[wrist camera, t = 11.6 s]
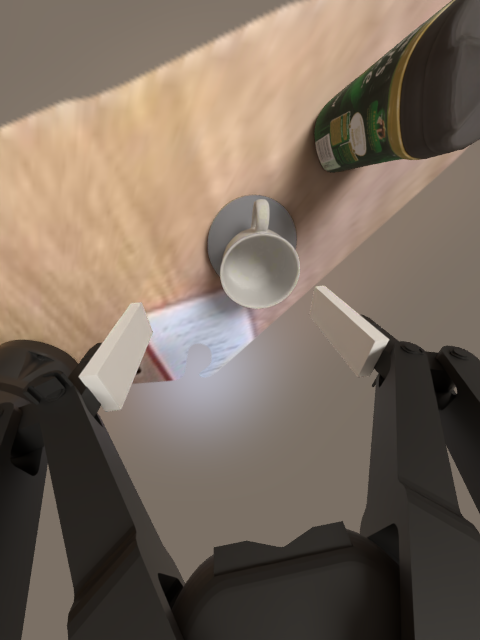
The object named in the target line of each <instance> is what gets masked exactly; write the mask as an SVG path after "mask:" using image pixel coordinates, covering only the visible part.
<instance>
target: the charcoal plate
mask: <svg viewBox="0 0 480 640" xmlns="http://www.w3.org/2000/svg"><path fill="white" fill-rule="evenodd" d="M258 199H265V200H266V201H267V202H268V204H269V224H268V230H271V231H273V232H275V233H277V234H278V235H280V236H281V237H282V238H284V239H286V240H287V241H288V242H289V243H290V244H291V245H292V246H293V247H294V249H295V250H296V241H297V237H296V229H295V225H294V222H293V220H292V218H291V216H290V214H289V213H288V212H287V210H286V209H285V208H284V207H283V206H282V205H281V204H279V203H278V202H277V201H275V200H273V199H271V198H268V197H266V196H260V195H247V196H242V197H239V198H236V199H234V200H232V201H231V202H229V203H228V204H226V205H225V206H224V207H223V208H222V209H221V210H220V211H219V212H218V214H217V215H216V217H215V218H214V220H213V222H212V224H211V227H210V231H209V236H208V254H209V259H210V262H211V264H212V266H213V268H214V270H215V271H216V273H217V274H218V275H219V276H220V267H221V263H222V259H223V255H224V251H225V249H226V247H227V245H228V244H229V242H230V241H231V240H232V239H233V238H234V237H235V236H236V235H237V234H239V233H240V232H242V231H244V230H247V229H250V228H251V224H252V211H253V205H254V202H255V201H256V200H258Z"/></svg>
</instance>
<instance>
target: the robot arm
mask: <svg viewBox="0 0 480 640" xmlns="http://www.w3.org/2000/svg"><path fill="white" fill-rule="evenodd" d="M309 316H310V318H311V319H312V320H313V321H314V323H315V324H316V325H317V327H318V328H319V329H320V330H321V332H322V333H323V334H324V335H325V337H326V338H327V339H328V340H329V342H330V343H331V344H332V346H333V347H334V348H335V349H336V351H337V352H338V353H339V354H340V356H341V357H342V358H343V359H344V360H345V362H346V363H347V364H348V366H349V367H350V368H351V369H352V371H353V372H354V373H355V374H356V376H357V377H364V376H370V375H371V373H372V371H373V370H374V369H375V370H376V371H377V372H378V373H379V374H378V375H377V377H376V379H375V381H374V383H373V384H372V387H374V386H375V385H376V390H375V403H374V417H373V430H372V443H371V456H370V469H369V482H368V483H369V484H368V496H367V505H366V509H365V512H364V515H363V517H362V521H361V527H360V534H359V533H357V532H354V531H351V530H348V529H346V528H345V526H344V524H343V521H341V522H336V523H331V524H327V525H321V526H317V527H312V528H311V529H310V530H308V531H307V532H305V533H304V534H302V535H301V536H299V537H298V538H296V539H295V540H294V541H292V542H291V543H289V544H288V545H286V546H285V547H276V546H271V545H266V544H260V543H256V542H250V541H243V542H239V543H233V544H229V545H224V546H219V547H214V554H213V555H212V556H210V557H209V558H208V559H206V561H204V562H203V563H202V564H201V565H200V566H199V567H198V568H197V569H196V570H195V572H194V573H193V574H192V575H191V577H190V578H189V580H188V581H187V582H186V584H185V582H184V580H183V579H182V576H181V574H180V572H179V570H178V568H177V566H176V565H175V563H174V561H173V559H172V558H171V556H170V555H169V553H168V552H167V551H166V549H165V547H164V546H163V544H162V542H161V540H160V538H159V536H158V534H157V532H156V530H155V528H154V526H153V524H152V522H151V519H150V517H149V515H148V514H147V512H146V509H145V507H144V505H143V504H142V501H141V499H140V497H139V495H138V493H137V491H136V489H135V487H134V485H133V483H132V481H131V479H130V477H129V475H128V473H127V471H126V469H125V466H124V465H123V462H122V460H121V458H120V457H119V454H118V452H117V450H116V448H115V446H114V444H113V442H112V440H111V438H110V436H109V434H108V432H107V430H106V428H105V426H104V424H103V422H102V420H101V418H100V416H99V415H98V413H97V412H98V410H99V408H100V406H102V407H103V409H104V410H105V411H106V412H108V411H116V410H121V409H122V407H123V404H124V402H125V399H126V397H127V395H128V392H129V389H130V387H131V385H132V382H133V380H134V377H135V375H136V373H137V370H138V368H139V365H140V363H141V360H142V358H143V355H144V353H145V350H146V348H147V346H148V343H149V341H150V338H151V336H152V333H153V331H152V328H151V326H150V323H149V320H148V318H147V315H146V312H145V310H144V307H143V304H142V302H139V303H131V304H130V305H129V306H128V308H127V309H126V311H125V312H124V313H123V315H122V316H121V318H120V319H119V320H118V322H117V323H116V325H115V326H114V327H113V329H112V330H111V332H110V333H109V335H108V336H107V337H106V339H105V340H104V342H103V343H97V344H96V345H95V346H93V347H92V348H91V349H89V351H88V352H87V353H86V355H85V356H84V358H82V360H81V361H80V363H79V364H77V362H76V361H75V360H74V359H73V358H72V357H71V356H69V355H68V354H67V353H65V352H63V351H62V350H60V349H58V348H56V347H53V346H51V345H48V344H45V343H41V342H37V341H30V340H14V341H9V342H6V343H4V344H2V345H0V640H21V637H22V630H23V623H24V617H25V610H26V603H27V597H28V590H29V584H30V576H31V569H32V564H33V557H34V550H35V544H36V537H37V530H38V523H39V518H40V510H41V504H42V498H43V491H44V485H45V478H46V471H47V465H49V470H50V475H51V480H52V485H53V490H54V494H55V499H56V504H57V509H58V514H59V519H60V524H61V529H62V533H63V539H64V543H65V548H66V553H67V558H68V563H69V567H70V572H71V577H72V582H73V587H74V603H73V605H72V607H71V610H70V612H69V615H68V623H67V629H68V640H480V534H479V532H478V530H477V529H476V528H475V526H474V525H473V524H472V523H470V522H469V521H468V520H466V519H465V518H464V517H463V516H462V514H461V513H460V509H459V506H458V501H457V496H456V491H455V487H454V482H453V477H452V472H451V467H450V463H449V458H448V453H447V448H448V449H449V452H450V454H451V456H452V458H453V460H454V462H455V464H456V466H457V468H458V470H459V472H460V474H461V476H462V478H463V480H464V483H465V484H466V486H467V489H468V491H469V493H470V495H471V497H472V499H473V501H474V503H475V505H476V507H477V509H478V511H479V513H480V360H479V359H478V358H477V357H475V356H474V355H473V354H472V353H470V352H468V351H466V350H465V349H462V348H459V347H454V346H444V347H442V349H441V350H440V351H439V353H435V352H426V351H424V350H423V349H422V348H421V347H419V346H417V345H415V344H413V343H410V342H404V341H401V342H399V341H398V340H396V339H395V338H394V337H393V336H392V335H390V334H389V333H388V332H386V331H385V330H384V329H383V328H381V327H380V326H379V325H378V324H376V323H375V322H374V321H373V320H371V319H370V318H368V317H366V316H364V315H359V314H358V313H357V312H356V311H354V310H353V309H352V308H351V307H349V306H348V305H347V304H346V303H345V302H343V301H342V300H341V299H340V298H339V297H337V296H336V295H335V294H334V293H332V292H331V291H330V290H329V289H328V288H326V287H325V286H315V289H314V294H313V299H312V304H311V309H310V314H309ZM455 387H456V388H457V394H456V393H455V391H454V390H453V389H454V388H455ZM446 446H447V448H446Z"/></svg>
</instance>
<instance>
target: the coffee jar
mask: <svg viewBox="0 0 480 640" xmlns="http://www.w3.org/2000/svg"><path fill="white" fill-rule="evenodd" d="M314 136H315V146H316V151H317V155H318V158H319V161H320V163H321V165H322V167H323V168H324V169H325V170H326V171H328V172H340V171H345V170H349V169H354V168H358V167H363V166H368V165H373V164H378V163H383V162H388V161H393V160H399V159H408V160H420V159H427V158H430V157H434V156H438V155H442V154H446V153H450V152H454V151H457V150H462V149H464V148H466V147H467V146H469V145H471V144H472V143H474V142H476V141H477V140H479V139H480V0H452V1H451V2H449V3H448V4H447V5H446V6H444V7H443V8H442V9H441V10H439V11H438V12H437V13H436V14H434V15H433V16H432V17H431V18H429V19H428V20H427V21H426V22H424V23H423V24H422V25H421V26H419V27H418V28H417V29H415V30H414V31H413V32H412V33H410V34H409V35H408V36H407V37H406V38H404V39H403V40H402V41H401V42H400V43H399V44H397V45H396V46H395V47H394V48H392V49H391V50H390V51H389V52H388V53H386V54H385V55H384V56H383V57H382V58H380V59H379V60H378V61H377V62H376V63H375V64H373V65H372V66H371V67H370V68H369V69H367V70H366V71H365V72H364V73H363V74H361V75H360V76H359V77H358V78H356V79H355V80H354V81H353V82H351V83H350V84H349V85H348V86H347V87H345V88H344V89H343V90H342V91H341V92H339V93H338V94H337V95H336V96H335V97H334V98H332V99H331V100H330V101H329V102H328V103H327V104H326V105H325V106H324V108H323V109H322V110H321V112H320V114H319V116H318V118H317V121H316V125H315V131H314Z"/></svg>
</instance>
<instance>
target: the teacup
mask: <svg viewBox="0 0 480 640" xmlns="http://www.w3.org/2000/svg"><path fill="white" fill-rule="evenodd" d="M268 224H269V204H268V202H267V201H266V200H265V199H258V200H256V201H255V202H254V205H253V211H252V224H251V228H250V229H247V230H244V231H242V232H240V233H239V234H237V235H236V236H235V237H234V238H233V239H232V240H231V241H230V242H229V244H228V245H227V247H226V249H225V251H224V255H223V259H222V263H221V267H220V280H221V284H222V287H223V289H224V291H225V293H226V294H227V295H228V297H229V298H230V299H231V300H233V301H234V302H235V303H237V304H239V305H241V306H243V307H247V308H252V309H263V308H268V307H271V306H274V305H276V304H278V303H280V302H281V301H283V300H284V299H285V298H286V297H287V296H288V295H289V294H290V293H291V292H292V291H293V289H294V287H295V286H296V284H297V281H298V278H299V275H300V262H299V257H298V254H297V252H296V251H295V249H294V247H293V246H292V245H291V244H290V243H289V242H288V241H287V240H286V239H284V238H282V237H281V236H280V235H278V234H277V233H275V232H273V231H271V230H268Z"/></svg>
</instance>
